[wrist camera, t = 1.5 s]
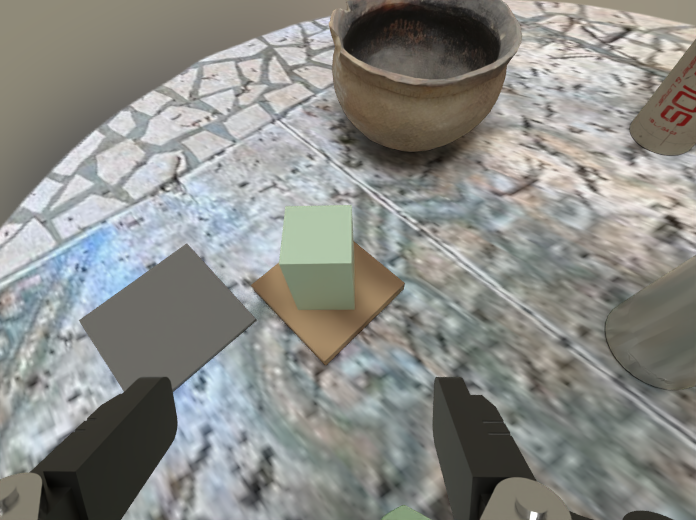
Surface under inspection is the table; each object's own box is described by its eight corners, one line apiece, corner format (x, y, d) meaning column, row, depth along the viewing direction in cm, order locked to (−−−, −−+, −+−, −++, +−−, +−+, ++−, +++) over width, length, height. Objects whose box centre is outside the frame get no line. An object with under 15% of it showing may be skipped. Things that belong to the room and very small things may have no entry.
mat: (188, 245, 45) (186, 243, 45) (256, 320, 40) (255, 318, 40) (81, 321, 41) (78, 320, 41) (142, 417, 36) (140, 417, 35)
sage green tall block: (302, 260, 42) (285, 206, 33) (354, 260, 42) (351, 205, 33) (298, 310, 39) (278, 264, 30) (354, 309, 39) (351, 263, 30)
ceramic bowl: (334, 83, 60) (326, -23, 47) (467, 74, 60) (495, -35, 47) (340, 187, 49) (331, 85, 36) (502, 176, 49) (552, 70, 36)
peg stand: (330, 228, 46) (324, 182, 38) (403, 289, 41) (411, 249, 34) (254, 290, 42) (230, 252, 35) (325, 365, 37) (315, 339, 30)
